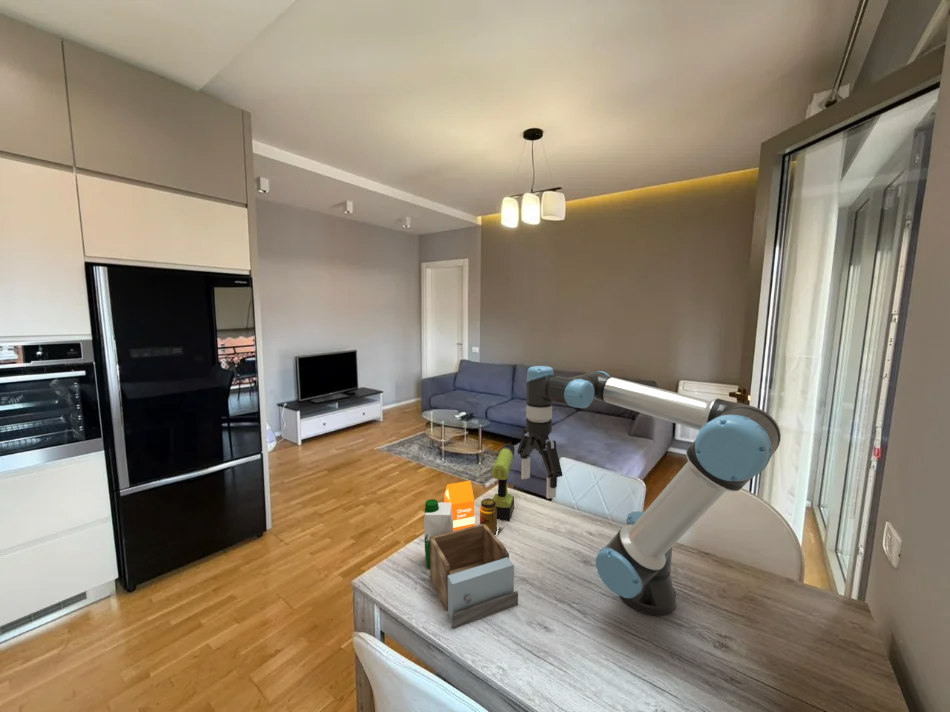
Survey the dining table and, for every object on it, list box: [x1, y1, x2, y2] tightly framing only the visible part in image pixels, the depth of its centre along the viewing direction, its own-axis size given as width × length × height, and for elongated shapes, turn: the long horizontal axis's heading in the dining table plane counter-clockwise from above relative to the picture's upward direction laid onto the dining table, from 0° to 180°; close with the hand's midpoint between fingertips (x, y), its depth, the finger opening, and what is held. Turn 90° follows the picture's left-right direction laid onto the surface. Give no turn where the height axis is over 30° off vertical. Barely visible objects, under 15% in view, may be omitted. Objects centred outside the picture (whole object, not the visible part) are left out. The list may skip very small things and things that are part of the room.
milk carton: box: [423, 498, 453, 569], centre depth 122 cm, size 9×9×20 cm
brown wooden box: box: [429, 523, 519, 629], centre depth 110 cm, size 20×20×13 cm
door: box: [447, 557, 515, 622], centre depth 103 cm, size 5×18×11 cm, turn 115°
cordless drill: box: [491, 442, 516, 522], centre depth 154 cm, size 23×7×25 cm, turn 164°
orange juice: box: [443, 480, 476, 531], centre depth 135 cm, size 8×9×20 cm
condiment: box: [479, 498, 504, 535], centre depth 139 cm, size 7×8×12 cm
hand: (537, 487), depth 116 cm, fingers open, 13 cm apart
